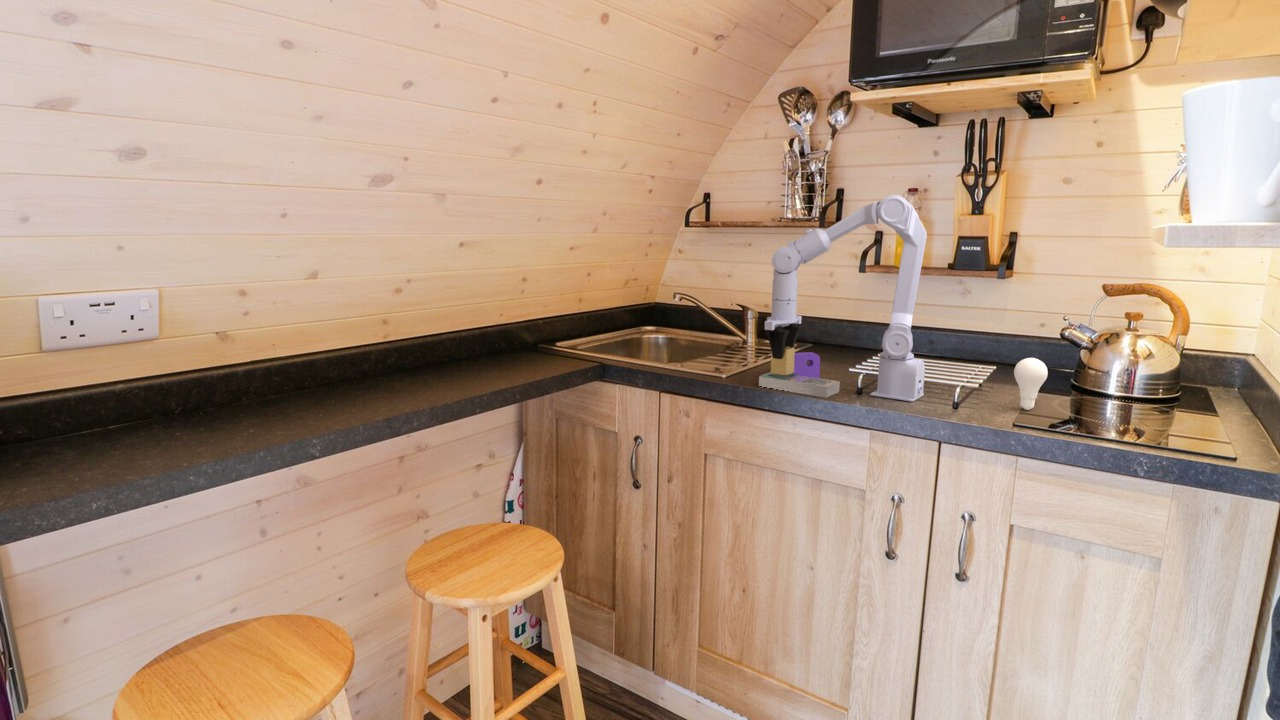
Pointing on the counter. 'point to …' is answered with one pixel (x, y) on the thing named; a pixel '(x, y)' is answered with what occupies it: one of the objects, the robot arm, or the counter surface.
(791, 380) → the white compartment tray
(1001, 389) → the counter surface
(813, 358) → the bracket
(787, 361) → the beige hollow block
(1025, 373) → the lightbulb
